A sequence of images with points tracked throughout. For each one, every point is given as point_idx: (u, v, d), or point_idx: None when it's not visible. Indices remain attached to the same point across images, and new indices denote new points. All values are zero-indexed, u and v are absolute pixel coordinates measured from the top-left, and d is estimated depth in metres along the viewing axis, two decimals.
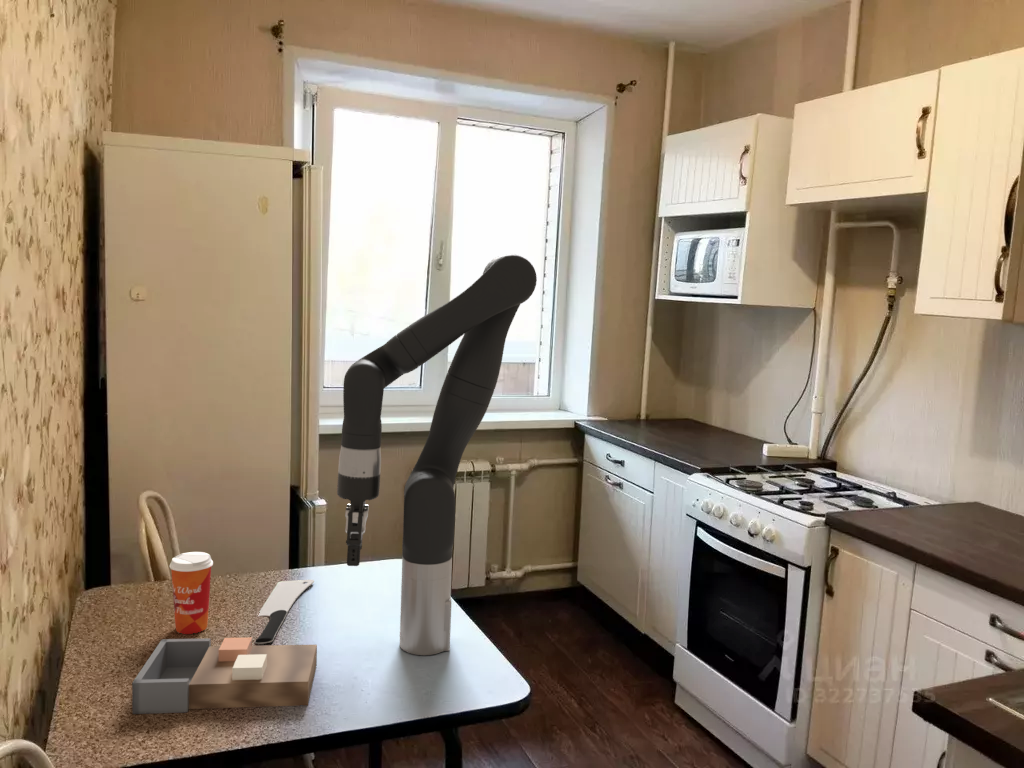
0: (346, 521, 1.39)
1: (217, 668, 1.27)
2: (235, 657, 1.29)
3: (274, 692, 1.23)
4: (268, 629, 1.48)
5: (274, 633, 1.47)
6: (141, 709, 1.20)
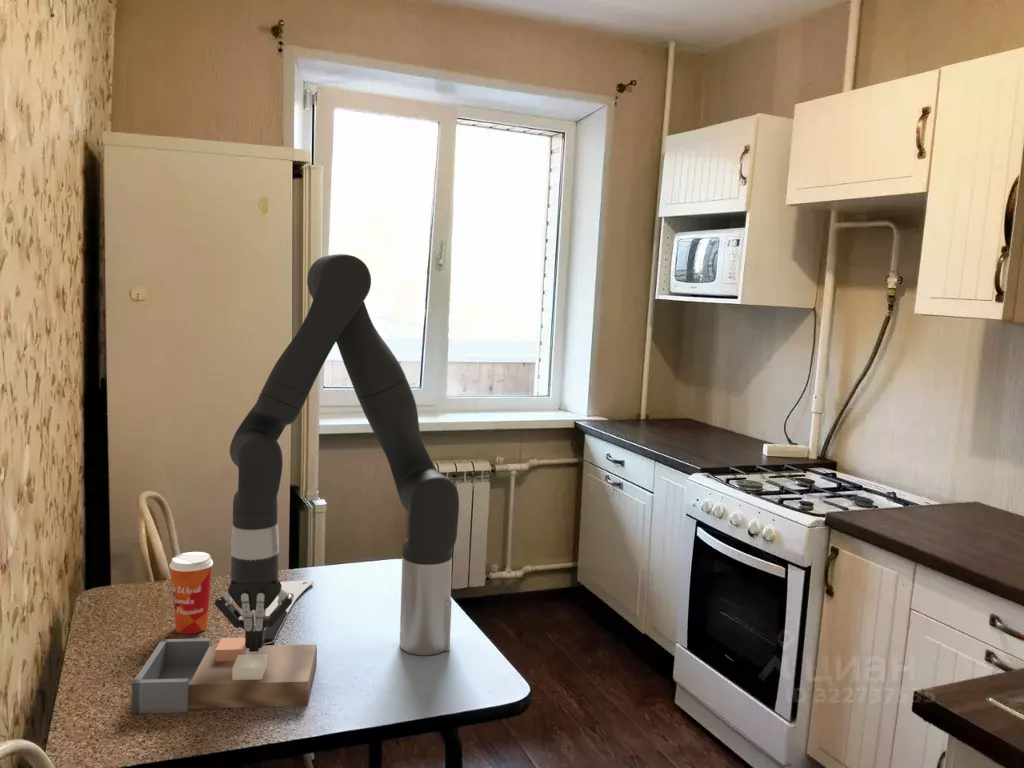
0: (263, 608, 1.29)
1: (217, 668, 1.27)
2: (232, 657, 1.29)
3: (274, 692, 1.23)
4: (269, 629, 1.48)
5: (275, 634, 1.47)
6: (141, 709, 1.20)
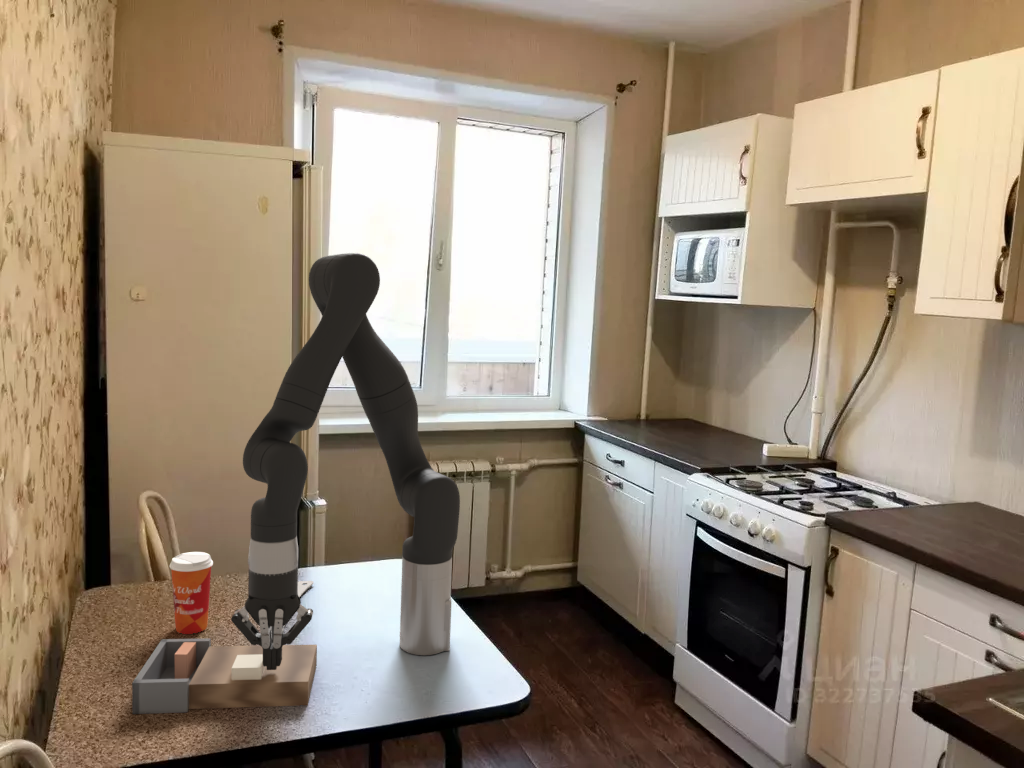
0: (282, 625, 1.24)
1: (217, 668, 1.27)
2: (183, 664, 1.29)
3: (274, 692, 1.23)
4: (272, 631, 1.47)
5: None
6: (141, 709, 1.20)
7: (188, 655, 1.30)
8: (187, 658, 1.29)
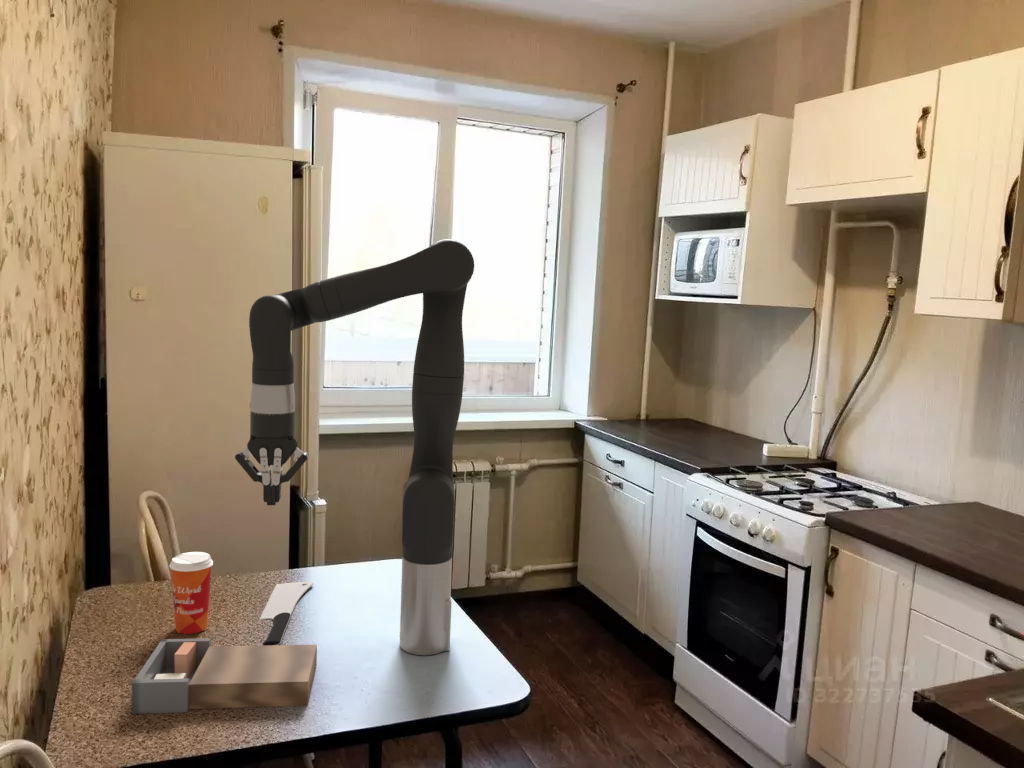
0: (280, 463, 1.38)
1: (217, 668, 1.27)
2: (183, 664, 1.29)
3: (274, 692, 1.23)
4: (274, 632, 1.47)
5: (281, 636, 1.46)
6: (141, 709, 1.20)
7: (188, 655, 1.30)
8: (187, 658, 1.29)
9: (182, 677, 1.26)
